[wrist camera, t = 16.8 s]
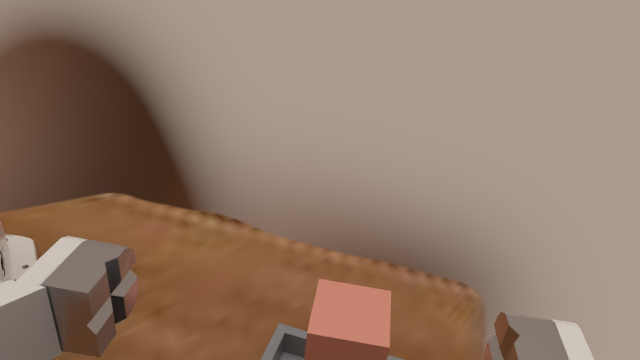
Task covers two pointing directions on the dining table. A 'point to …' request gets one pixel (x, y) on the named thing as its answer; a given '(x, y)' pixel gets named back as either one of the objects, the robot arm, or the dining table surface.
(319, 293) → the red post
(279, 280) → the dining table surface
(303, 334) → the parts tray
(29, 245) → the robot arm
